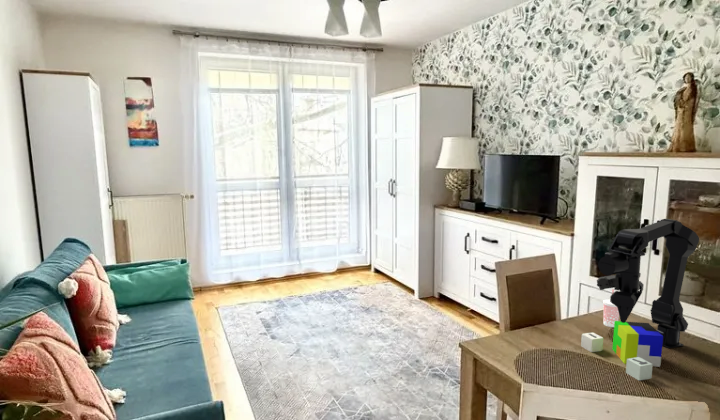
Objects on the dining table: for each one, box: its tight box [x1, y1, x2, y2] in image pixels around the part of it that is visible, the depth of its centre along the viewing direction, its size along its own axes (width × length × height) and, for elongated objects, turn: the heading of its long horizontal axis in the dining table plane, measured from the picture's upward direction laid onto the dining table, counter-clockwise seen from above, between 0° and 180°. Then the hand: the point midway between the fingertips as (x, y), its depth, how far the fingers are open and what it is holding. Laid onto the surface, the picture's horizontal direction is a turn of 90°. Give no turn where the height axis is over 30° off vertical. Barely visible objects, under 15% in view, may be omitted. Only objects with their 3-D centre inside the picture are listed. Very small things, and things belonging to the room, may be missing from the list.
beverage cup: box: [602, 288, 620, 328], centre depth 161 cm, size 6×6×14 cm
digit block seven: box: [625, 357, 654, 381], centre depth 126 cm, size 4×4×5 cm
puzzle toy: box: [611, 320, 663, 368], centre depth 136 cm, size 10×10×10 cm
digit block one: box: [580, 332, 604, 353], centre depth 143 cm, size 4×4×5 cm
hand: (625, 317), depth 136 cm, fingers open, 9 cm apart
